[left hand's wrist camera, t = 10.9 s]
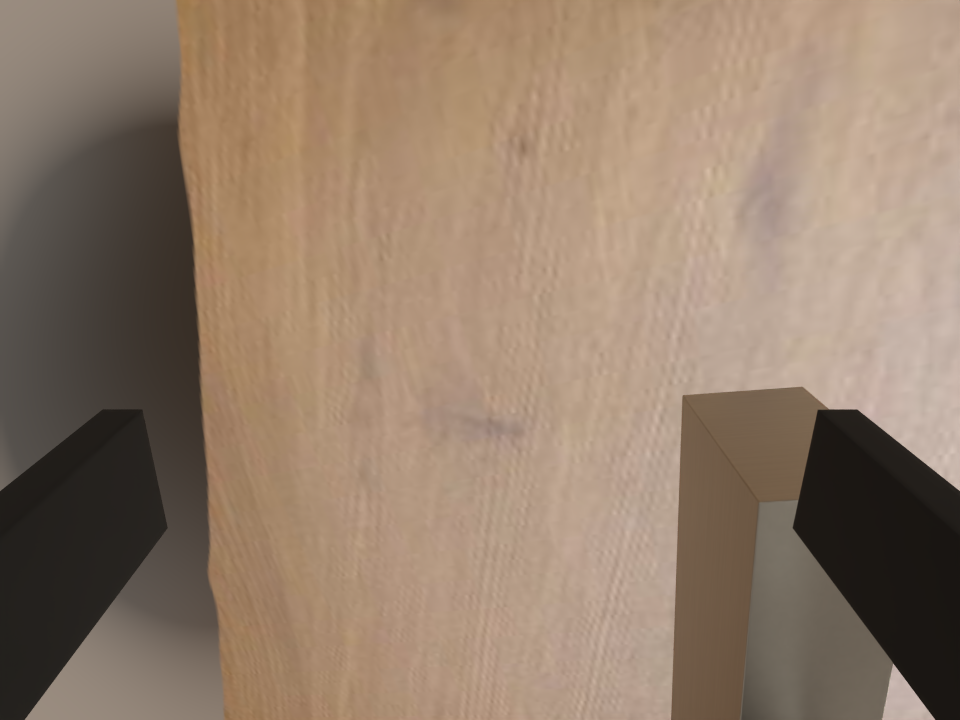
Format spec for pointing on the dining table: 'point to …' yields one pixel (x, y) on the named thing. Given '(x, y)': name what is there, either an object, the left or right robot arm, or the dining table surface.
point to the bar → (760, 575)
